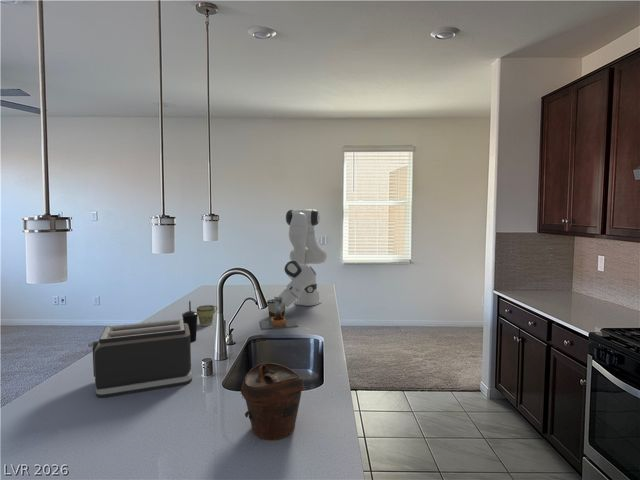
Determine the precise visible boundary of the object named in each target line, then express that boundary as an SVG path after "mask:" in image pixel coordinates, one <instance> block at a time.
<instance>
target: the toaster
mask: <svg viewBox="0 0 640 480" xmlns="http://www.w3.org/2000/svg"><path fill="white" fill-rule="evenodd" d="M87 347H88V348H89V347H92V365H93V366H92V367H93V377H94V386H95V396H96V398H99V399H105V398H110V397H118V396H122V395H123V396H124V395H128V394H136V393H143V392H147V391H148V392H149V391H153V390H154V391H155V390H162V389H167V388H174V387H179V386H186V385H188V384H190V383H191V382H192V380H193V373H192V371H193V370H192V358H191V357H192V354H191V342H190V331H189V326H188V324H186V323H184V320H183V318H179V319H178V318H177V319H172V320H171V319H169V320H161V321H150V322H148V321H147V322H138V323H130V324H129V323H128V324H119V325H118V324H117V325H112V326H111V325H110V326H109V325H107V326H105V328H104V329H103V331H102V333H101V335H100V337H99V339H98V341H92V342H88V343H87Z"/></svg>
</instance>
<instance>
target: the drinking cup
mask: <svg viewBox="0 0 640 480" xmlns="http://www.w3.org/2000/svg"><path fill="white" fill-rule="evenodd" d="M191 305H192V304H191V300H190V301H188V306H189V307H188V309H189V310H188V311H185V312H183V313H182V314H181V316H182V319H183V320H184V323H186V324H188V326H189V331H190V343H194V342H196V341H197V330H198V329H197V327H198V318H199V317H198V313H197V311H194V310H192V309H191V308H192V307H191Z"/></svg>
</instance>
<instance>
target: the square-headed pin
mask: <svg viewBox="0 0 640 480" xmlns="http://www.w3.org/2000/svg"><path fill="white" fill-rule="evenodd" d="M273 299H274V300H275V317H276V318H280V317H281V308H280V309H279V310H278V309H277V306H278V305H279V304H281V300H282V297H279V296H274V297H273Z"/></svg>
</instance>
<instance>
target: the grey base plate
mask: <svg viewBox="0 0 640 480" xmlns="http://www.w3.org/2000/svg"><path fill="white" fill-rule="evenodd" d="M259 324H260V328H261V330H272V329H287V328H288V329H289V328H298V327H299V326H298V324H297V322H296V321H295V319H294V318H293V319H286V317H285V316H283V317H280V318H276V317H270V320H266V321H265V320H263V321H259Z"/></svg>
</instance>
